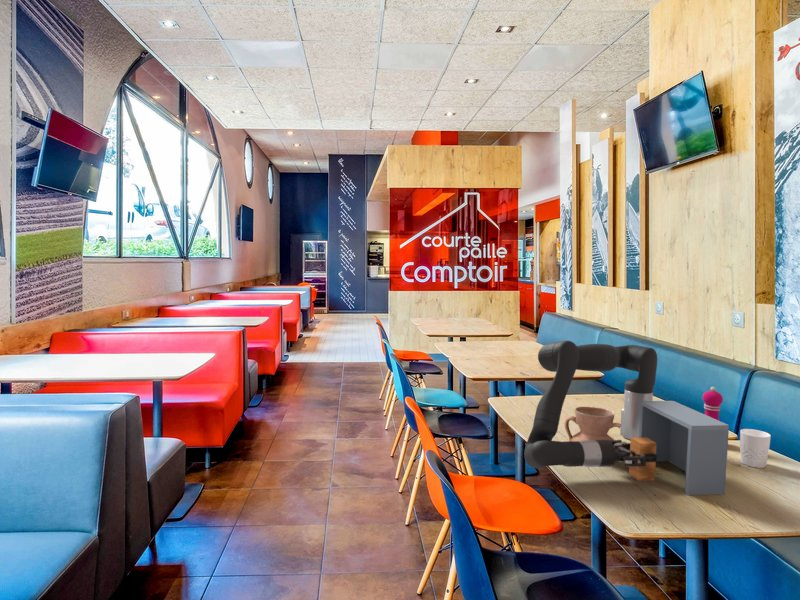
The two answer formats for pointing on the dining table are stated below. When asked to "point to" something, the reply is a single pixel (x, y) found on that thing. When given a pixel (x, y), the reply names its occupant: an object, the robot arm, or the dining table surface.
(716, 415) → the pepper mill
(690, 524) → the dining table surface
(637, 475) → the orange block
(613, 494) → the dining table surface
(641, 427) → the grey cubby
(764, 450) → the white cup
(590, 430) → the ceramic jug
